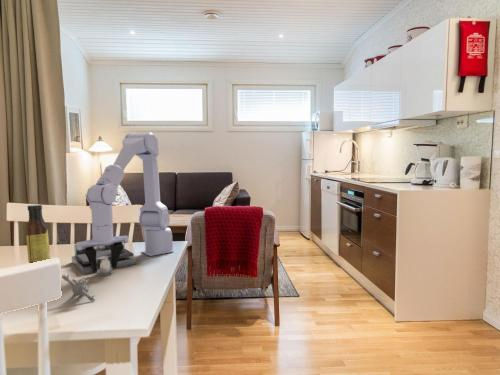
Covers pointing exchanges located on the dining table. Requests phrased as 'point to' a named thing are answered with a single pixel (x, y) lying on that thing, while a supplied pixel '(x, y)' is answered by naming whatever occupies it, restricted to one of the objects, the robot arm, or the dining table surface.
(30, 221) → the sauce bottle
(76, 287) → the grey piece
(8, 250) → the dining table surface
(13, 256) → the dining table surface
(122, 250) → the steel spacer
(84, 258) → the pan
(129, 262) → the scale
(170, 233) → the robot arm
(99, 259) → the steel spacer
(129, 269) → the dining table surface
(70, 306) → the dining table surface
